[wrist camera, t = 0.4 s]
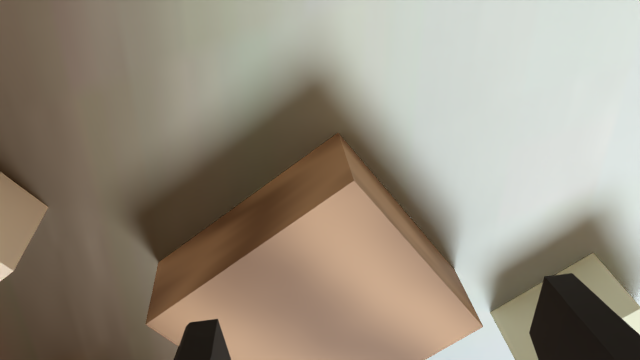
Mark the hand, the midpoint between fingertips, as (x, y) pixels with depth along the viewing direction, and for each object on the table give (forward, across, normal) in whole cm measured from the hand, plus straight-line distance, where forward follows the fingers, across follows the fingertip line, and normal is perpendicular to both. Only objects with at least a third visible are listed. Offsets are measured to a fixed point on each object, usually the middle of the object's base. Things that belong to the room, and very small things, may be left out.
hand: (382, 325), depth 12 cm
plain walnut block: (+10, +2, +8) cm, 13 cm away
